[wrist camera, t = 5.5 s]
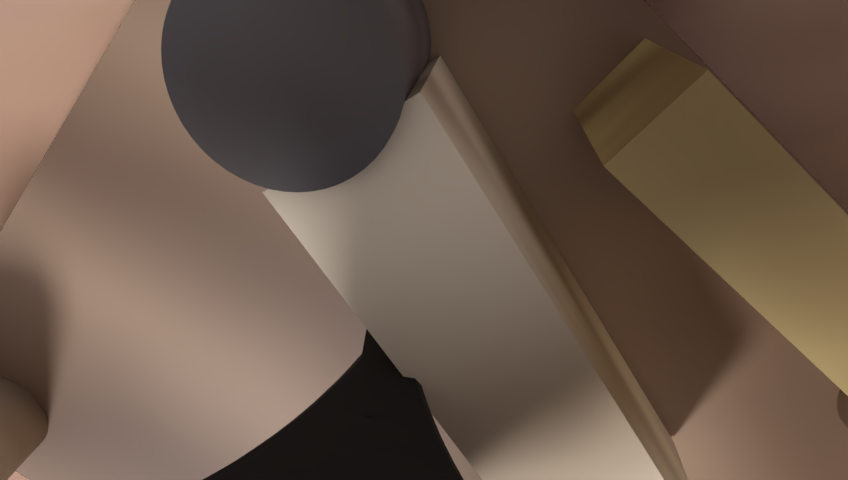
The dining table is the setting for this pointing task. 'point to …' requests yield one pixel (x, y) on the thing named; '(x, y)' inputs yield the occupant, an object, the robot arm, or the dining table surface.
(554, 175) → the stool seat
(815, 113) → the dining table surface
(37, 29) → the dining table surface
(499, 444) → the leg bar
